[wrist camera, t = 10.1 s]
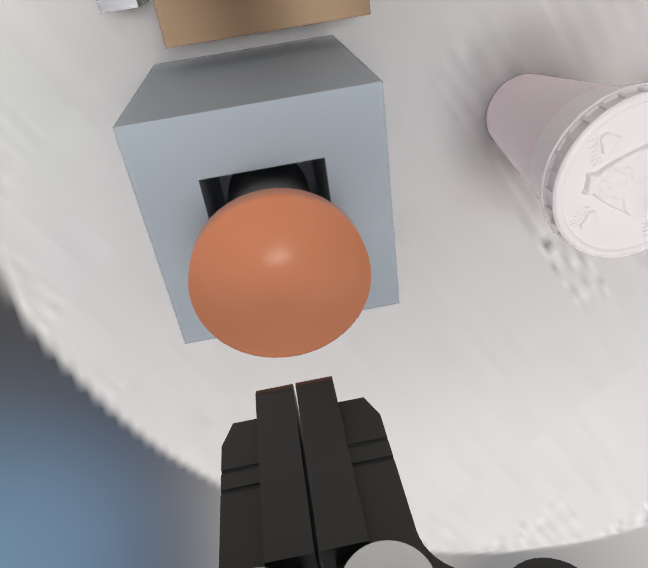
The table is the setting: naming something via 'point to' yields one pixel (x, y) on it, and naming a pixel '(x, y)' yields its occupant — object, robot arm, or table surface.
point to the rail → (118, 5)
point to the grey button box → (258, 149)
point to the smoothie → (579, 157)
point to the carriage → (245, 17)
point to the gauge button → (278, 267)
